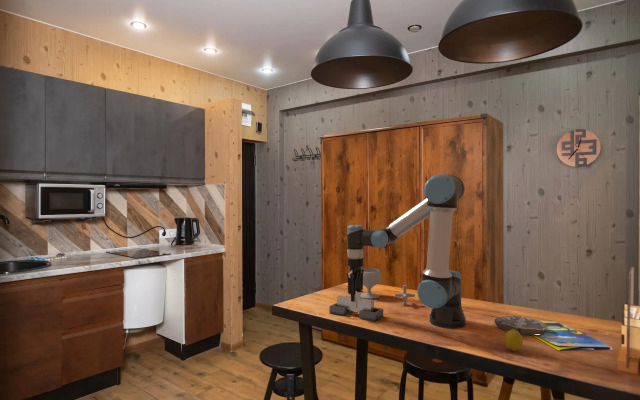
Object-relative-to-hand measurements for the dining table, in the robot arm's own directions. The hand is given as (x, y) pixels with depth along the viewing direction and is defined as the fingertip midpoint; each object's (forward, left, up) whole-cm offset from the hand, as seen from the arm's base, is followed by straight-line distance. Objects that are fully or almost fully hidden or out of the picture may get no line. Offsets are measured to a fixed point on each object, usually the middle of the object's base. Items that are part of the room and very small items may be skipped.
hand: (355, 306), depth 180 cm
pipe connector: (-14, -28, -4) cm, 32 cm away
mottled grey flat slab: (-68, -18, -4) cm, 71 cm away
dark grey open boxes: (0, 0, -4) cm, 4 cm away
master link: (0, 0, -1) cm, 2 cm away
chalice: (+9, -34, -4) cm, 35 cm away
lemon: (-68, +10, -4) cm, 69 cm away
